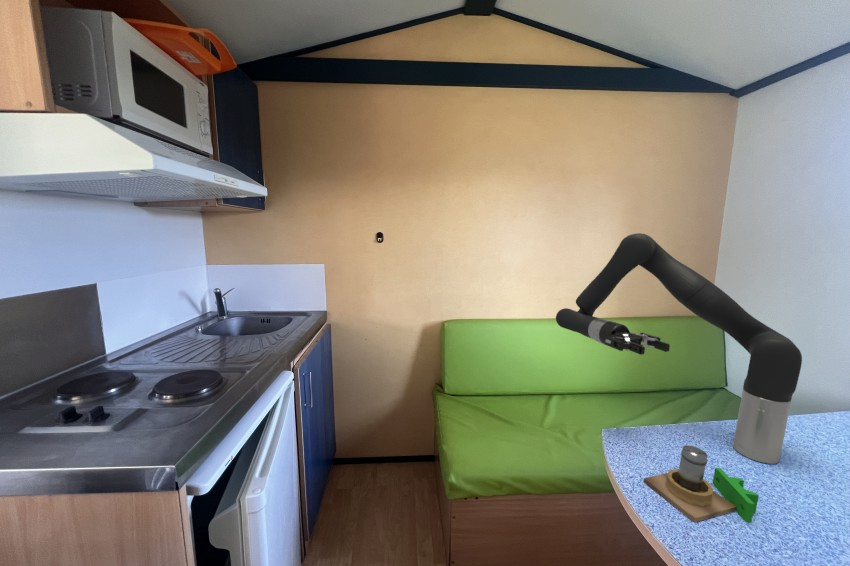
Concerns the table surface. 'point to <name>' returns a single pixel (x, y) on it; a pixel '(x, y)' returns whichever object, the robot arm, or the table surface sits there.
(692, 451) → the grey lidded jar
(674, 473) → the ring seat
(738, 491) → the green bracket
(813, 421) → the table surface
